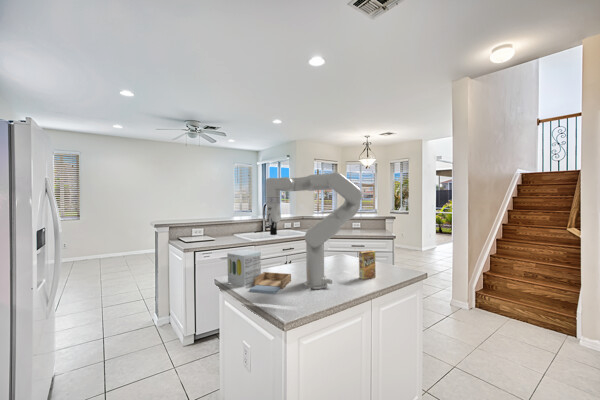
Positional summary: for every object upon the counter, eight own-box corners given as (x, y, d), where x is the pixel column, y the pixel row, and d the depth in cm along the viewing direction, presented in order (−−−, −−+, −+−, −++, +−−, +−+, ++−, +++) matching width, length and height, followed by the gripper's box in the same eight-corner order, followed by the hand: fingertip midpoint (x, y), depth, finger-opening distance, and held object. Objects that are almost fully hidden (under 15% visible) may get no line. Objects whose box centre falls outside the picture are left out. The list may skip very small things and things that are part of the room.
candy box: (363, 279, 158) (362, 252, 157) (358, 277, 161) (358, 251, 161) (375, 277, 161) (375, 251, 161) (371, 275, 165) (371, 250, 165)
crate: (291, 282, 153) (291, 273, 153) (282, 291, 140) (282, 281, 140) (264, 280, 158) (264, 272, 158) (253, 288, 145) (253, 279, 144)
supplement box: (227, 284, 152) (226, 252, 151) (244, 278, 162) (244, 248, 162) (244, 289, 144) (243, 255, 144) (261, 282, 155) (261, 251, 154)
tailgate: (280, 287, 141) (275, 291, 133) (280, 290, 141) (274, 294, 133) (256, 285, 145) (249, 289, 137) (256, 288, 145) (249, 292, 137)
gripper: (274, 201, 142) (274, 237, 142) (284, 200, 156) (284, 233, 156) (260, 201, 144) (261, 236, 144) (271, 200, 158) (272, 232, 158)
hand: (273, 234), depth 150 cm, fingers closed
